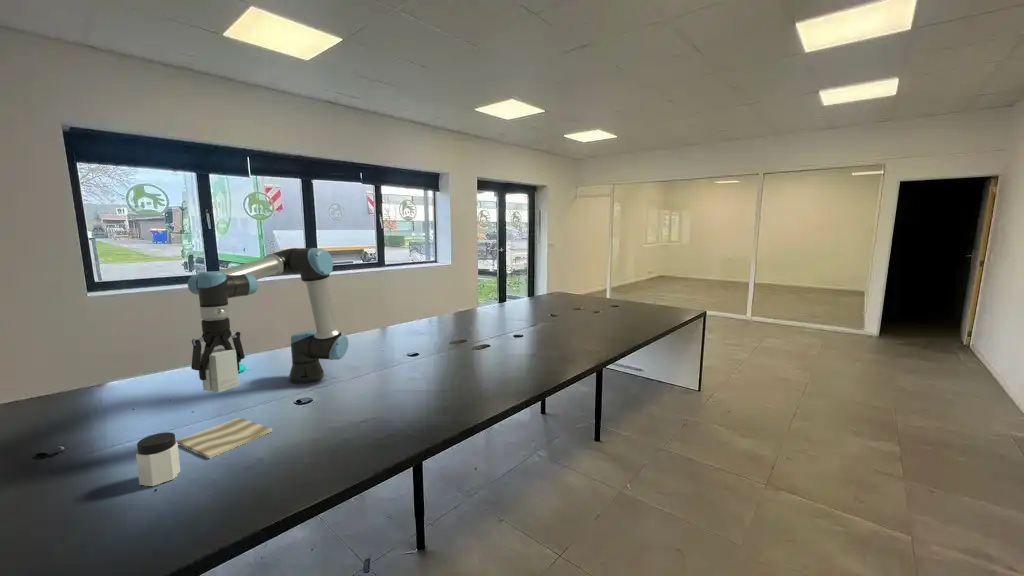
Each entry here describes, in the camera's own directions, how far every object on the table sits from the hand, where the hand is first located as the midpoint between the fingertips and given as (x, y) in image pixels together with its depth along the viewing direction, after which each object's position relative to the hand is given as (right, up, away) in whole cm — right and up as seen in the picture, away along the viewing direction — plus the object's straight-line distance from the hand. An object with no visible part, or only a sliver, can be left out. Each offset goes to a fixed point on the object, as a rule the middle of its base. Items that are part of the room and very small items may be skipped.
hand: (221, 384), depth 137 cm
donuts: (-44, -11, +70) cm, 83 cm away
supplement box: (0, -1, 0) cm, 1 cm away
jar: (-2, -22, -21) cm, 31 cm away
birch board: (0, -19, +2) cm, 19 cm away
